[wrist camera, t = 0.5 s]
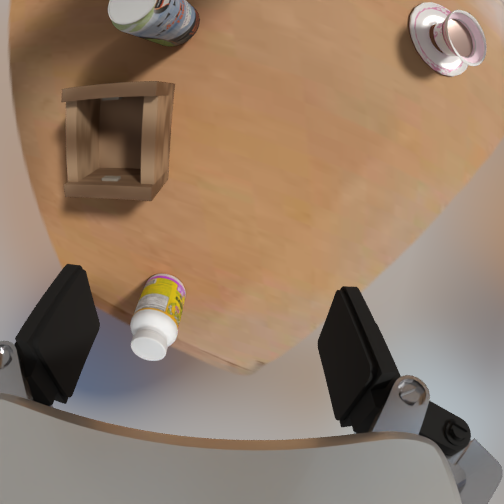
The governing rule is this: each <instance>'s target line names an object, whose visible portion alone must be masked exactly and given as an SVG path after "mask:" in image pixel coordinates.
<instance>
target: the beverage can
mask: <svg viewBox="0 0 504 504" xmlns="http://www.w3.org/2000/svg"><path fill="white" fill-rule="evenodd" d="M108 14H109V17H110V19H111V21H112V23H113V25H114V26H115V27H116V28H117V29H118V30H120V31H122V32H125V33H128V34H132V35H135V36H138V37H141V38H144V39H147V40H150V41H152V42H155V43H158V44H161V45H164V46H177V45H180V44H183V43H185V42H186V41H188V40H189V39H190V38H191V37H192V36H193V35H194V34H195V33H196V31H197V29H198V27H199V22H200V19H199V14H198V12H197V10H196V9H195V8H194V7H193V6H192V5H190V4H189V3H188V2H187V1H186V0H110V2H109V5H108Z"/></svg>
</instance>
